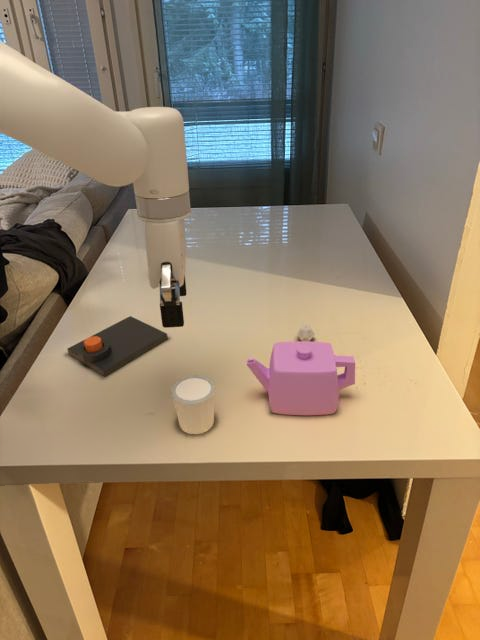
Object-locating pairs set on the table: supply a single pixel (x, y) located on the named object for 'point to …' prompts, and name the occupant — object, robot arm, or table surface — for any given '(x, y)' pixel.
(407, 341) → the table surface
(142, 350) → the scale
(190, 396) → the beige cup
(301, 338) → the game die
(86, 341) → the button
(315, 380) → the teapot
